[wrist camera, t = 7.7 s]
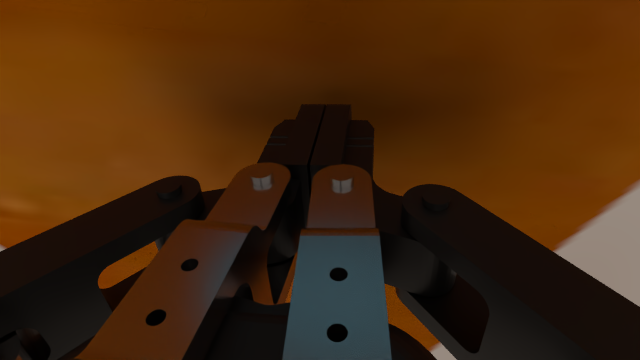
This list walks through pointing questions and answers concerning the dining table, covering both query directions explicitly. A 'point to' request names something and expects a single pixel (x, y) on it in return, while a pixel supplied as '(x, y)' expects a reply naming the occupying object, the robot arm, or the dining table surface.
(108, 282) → the dining table surface
